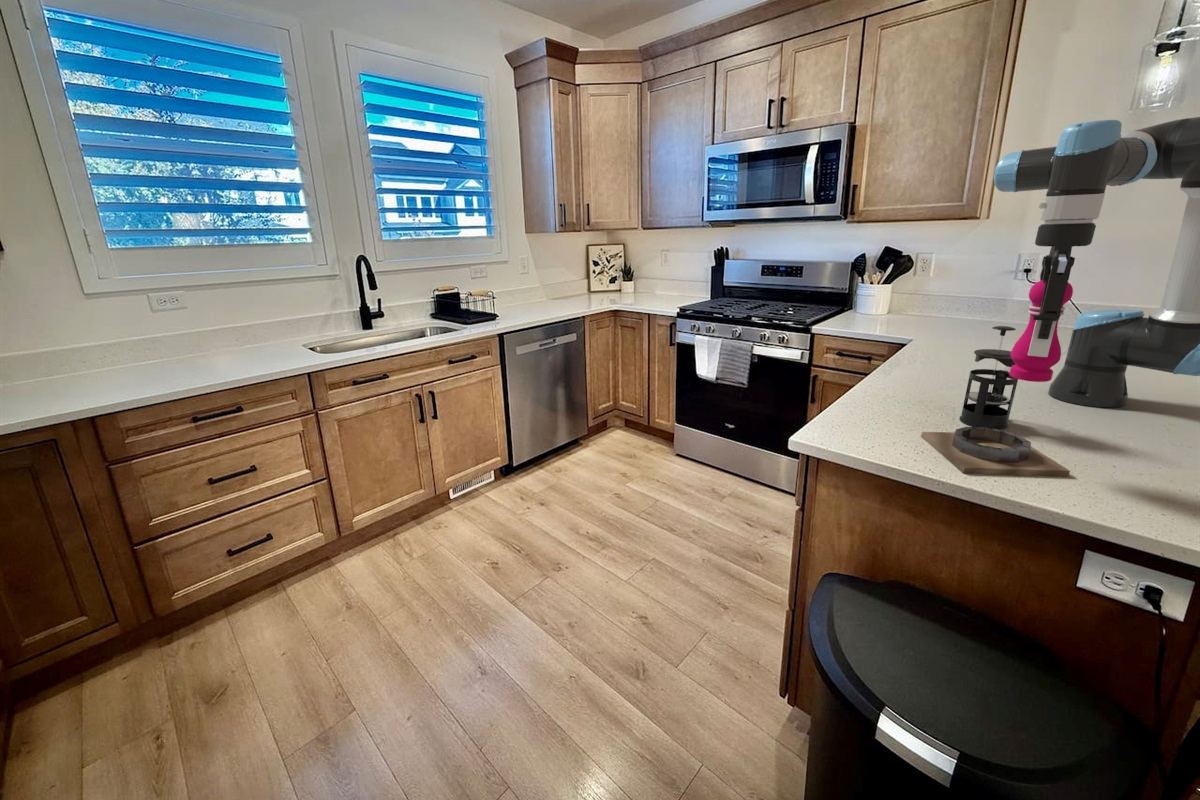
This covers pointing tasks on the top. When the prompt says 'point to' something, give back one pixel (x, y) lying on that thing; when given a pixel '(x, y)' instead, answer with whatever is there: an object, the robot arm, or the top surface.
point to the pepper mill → (1024, 364)
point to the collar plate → (968, 464)
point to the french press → (989, 403)
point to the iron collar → (994, 454)
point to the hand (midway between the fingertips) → (1035, 351)
